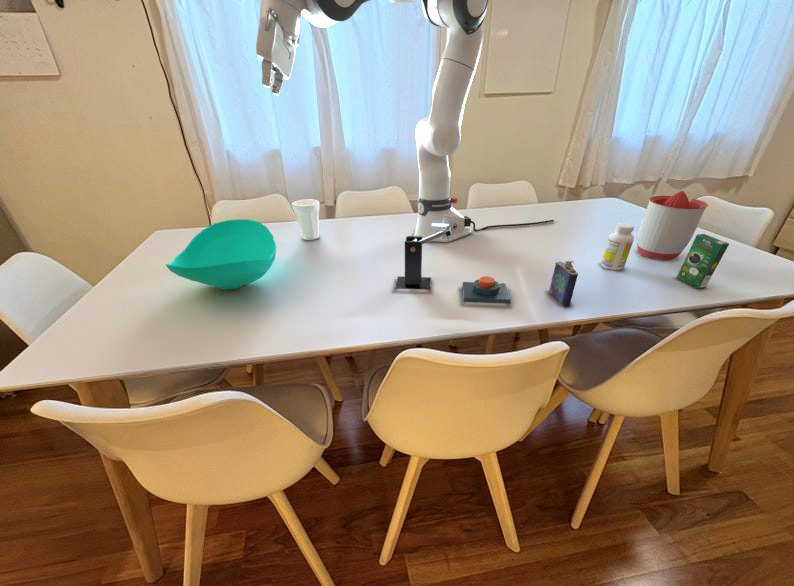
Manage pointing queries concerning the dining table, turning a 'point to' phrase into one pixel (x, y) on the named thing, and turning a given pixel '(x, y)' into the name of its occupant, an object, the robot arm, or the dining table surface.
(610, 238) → the supplement bottle
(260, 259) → the table top decor
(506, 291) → the button box
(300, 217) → the cup
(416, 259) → the bracket
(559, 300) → the flask
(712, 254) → the coffee box
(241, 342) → the dining table surface
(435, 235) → the lever
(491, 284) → the button
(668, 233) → the citrus juicer
